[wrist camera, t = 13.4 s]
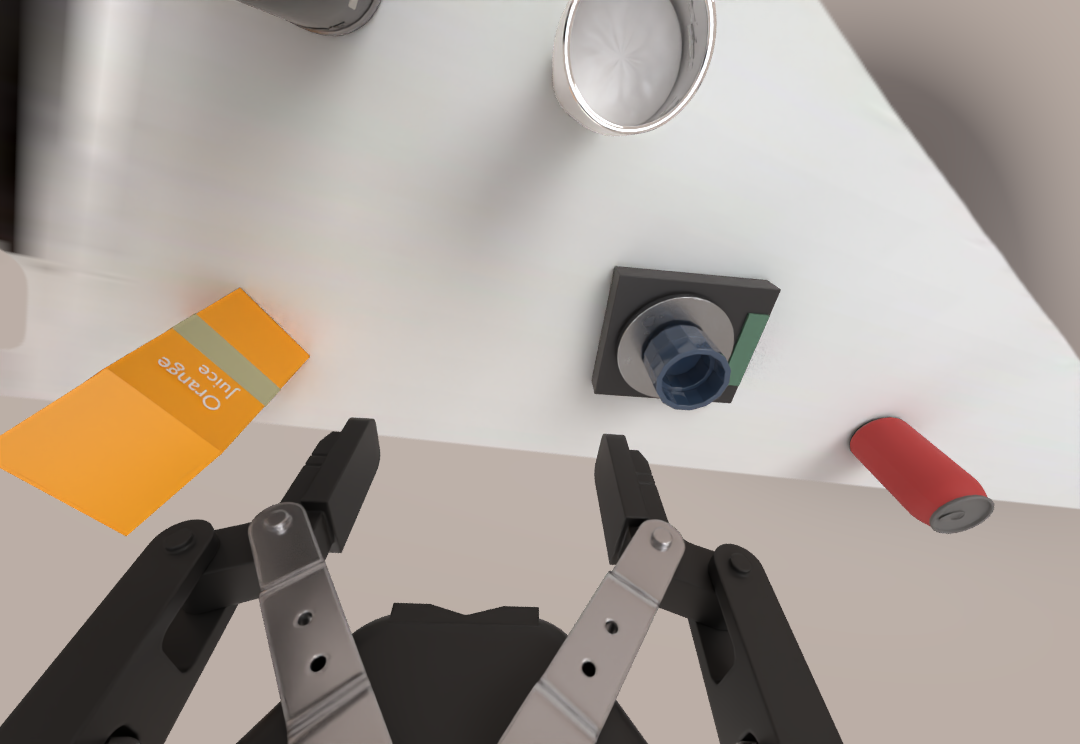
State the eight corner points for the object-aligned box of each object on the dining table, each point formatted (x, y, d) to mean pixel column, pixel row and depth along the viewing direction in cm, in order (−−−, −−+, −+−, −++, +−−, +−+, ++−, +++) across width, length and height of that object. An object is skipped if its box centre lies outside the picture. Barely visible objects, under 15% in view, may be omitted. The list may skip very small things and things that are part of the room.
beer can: (849, 421, 49) (933, 502, 38) (908, 408, 48) (1011, 487, 37) (844, 459, 52) (920, 542, 42) (899, 447, 51) (990, 529, 41)
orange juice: (259, 386, 44) (92, 555, 27) (186, 323, 40) (-66, 476, 23) (312, 355, 42) (166, 516, 25) (240, 285, 38) (8, 422, 21)
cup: (650, 319, 36) (666, 346, 32) (718, 325, 37) (742, 352, 33) (635, 376, 40) (647, 407, 36) (697, 381, 40) (716, 412, 36)
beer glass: (613, -14, 27) (686, -125, 15) (654, 92, 30) (743, 77, 18) (527, 56, 29) (525, 11, 16) (575, 149, 32) (604, 171, 20)
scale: (614, 265, 38) (620, 275, 35) (767, 280, 39) (783, 290, 36) (591, 380, 44) (594, 395, 42) (721, 390, 46) (732, 405, 43)
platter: (629, 288, 36) (631, 291, 35) (748, 299, 36) (752, 302, 36) (606, 390, 41) (607, 394, 41) (709, 397, 42) (712, 401, 42)
